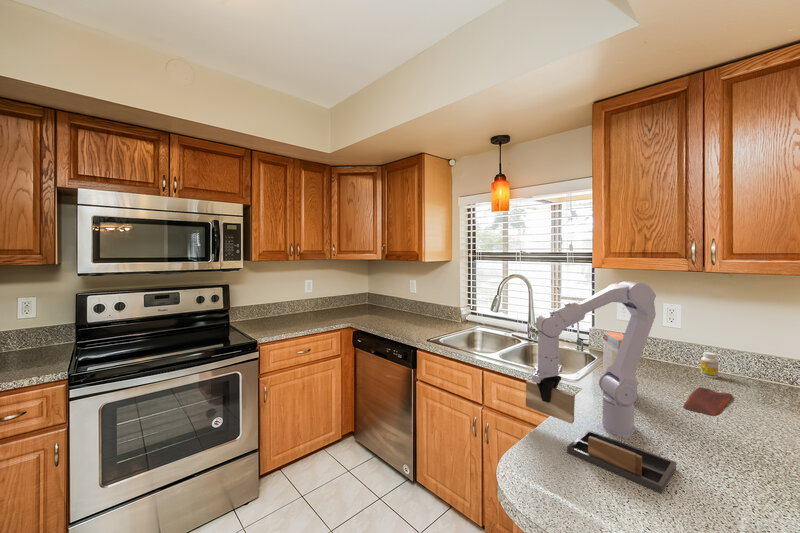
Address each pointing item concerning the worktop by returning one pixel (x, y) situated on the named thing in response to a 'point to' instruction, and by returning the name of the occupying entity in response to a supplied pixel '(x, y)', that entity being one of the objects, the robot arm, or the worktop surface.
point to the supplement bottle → (709, 365)
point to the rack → (653, 469)
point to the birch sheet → (551, 402)
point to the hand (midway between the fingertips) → (547, 400)
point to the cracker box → (611, 348)
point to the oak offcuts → (615, 455)
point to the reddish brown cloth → (707, 401)
